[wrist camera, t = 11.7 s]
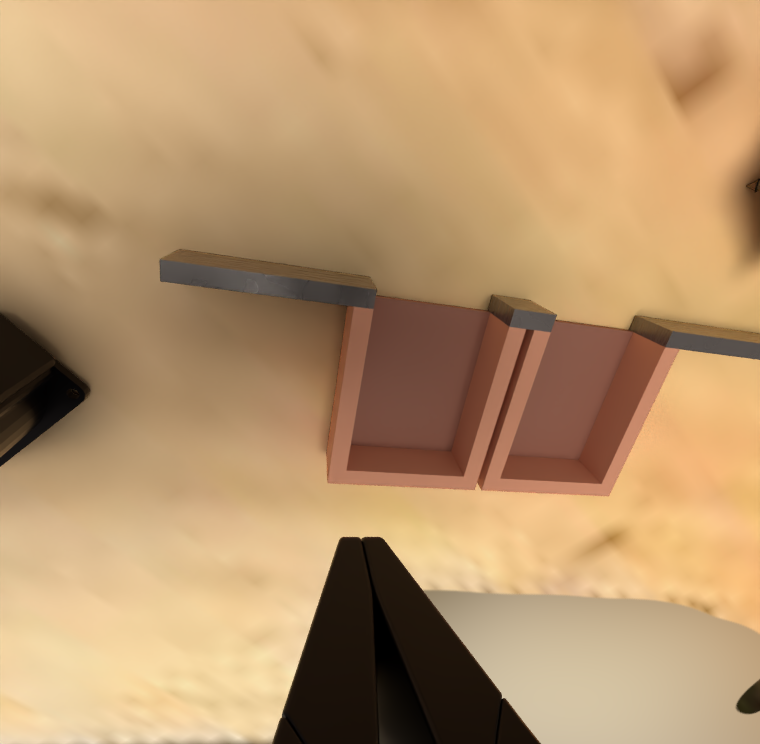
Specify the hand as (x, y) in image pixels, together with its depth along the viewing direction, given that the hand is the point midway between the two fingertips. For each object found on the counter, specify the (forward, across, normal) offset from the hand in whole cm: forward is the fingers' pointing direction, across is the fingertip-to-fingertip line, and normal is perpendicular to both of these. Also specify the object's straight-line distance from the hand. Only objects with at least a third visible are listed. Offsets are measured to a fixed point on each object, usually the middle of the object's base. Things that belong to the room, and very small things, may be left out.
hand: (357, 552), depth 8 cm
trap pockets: (+13, -8, +2) cm, 15 cm away
